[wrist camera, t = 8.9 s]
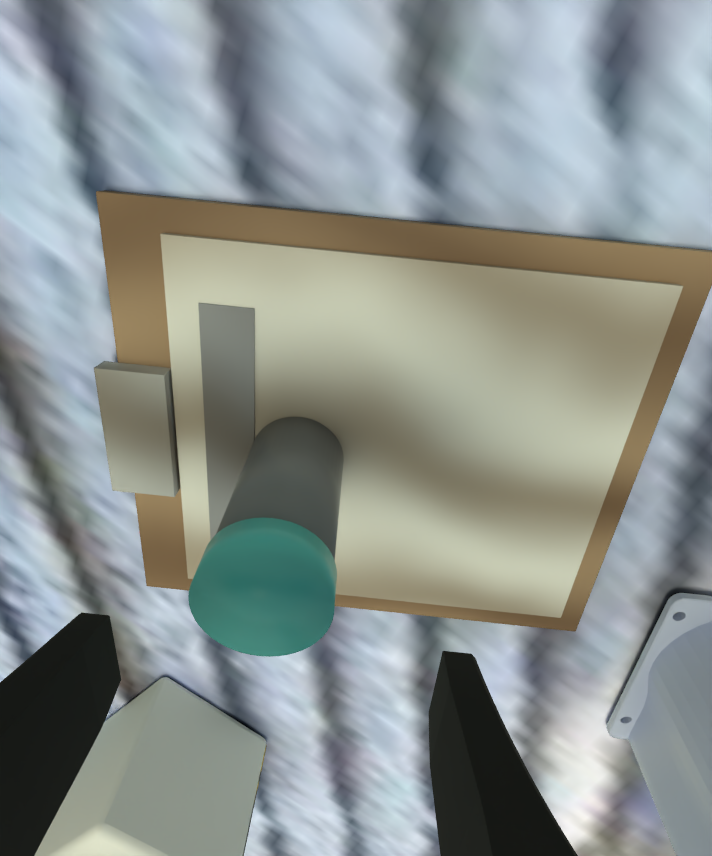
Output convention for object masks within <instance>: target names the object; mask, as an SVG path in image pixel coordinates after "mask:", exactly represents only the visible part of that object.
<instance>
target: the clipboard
mask: <svg viewBox="0 0 712 856" xmlns="http://www.w3.org/2000/svg"><path fill="white" fill-rule="evenodd" d="M96 196H97V204H98V211H99V219H100V227H101V235H102V242H103V250H104V258H105V266H106V273H107V281H108V289H109V297H110V305H111V312H112V320H113V328H114V336H115V343H116V351H117V359H118V363H117V362H107V361H103V362H102V363H101V364H99V365H98V366H96V367H95V368H94V372H95V379H96V385H97V392H98V398H99V405H100V412H101V418H102V425H103V431H104V438H105V444H106V451H107V458H108V464H109V471H110V477H111V484H112V490H113V491H122V492H131V493H135V498H136V506H137V514H138V522H139V530H140V537H141V545H142V553H143V561H144V568H145V576H146V584H147V586H152V587H161V588H171V589H180V590H189V589H190V585H191V582H192V580H193V578H194V575H195V573H196V571H197V568H198V566H199V563H200V561H201V559H202V556H203V554H204V552H205V549H206V547H207V545H208V543H209V542H210V540H211V539H212V538H213V537H214V536H215V535H216V533H217V530H218V528H219V525H220V523H221V520H222V518H223V516H224V513H225V511H226V508H227V506H228V503H229V501H230V499H231V496H232V494H233V491H234V489H235V486H236V484H237V482H238V479H239V477H240V474H241V472H242V469H243V467H244V465H245V462H246V460H247V457H248V455H249V452H250V450H251V448H252V445H253V443H254V440H255V438H256V436H257V435H258V433H259V432H260V431H261V430H262V429H263V428H264V427H265V426H266V425H268V424H269V423H271V422H273V421H275V420H278V419H281V418H286V417H304V418H308V419H312V420H314V421H317V422H319V423H321V424H322V425H324V426H325V427H327V428H328V429H329V430H330V431H331V432H332V433H333V434H334V435H335V436H336V437H337V439H338V441H339V442H340V445H341V447H342V451H343V457H344V460H343V473H342V484H341V495H340V506H339V518H338V529H337V540H336V551H335V564H336V569H337V582H336V594H335V606H340V607H350V608H359V609H369V610H378V611H388V612H397V613H406V614H416V615H425V616H435V617H444V618H454V619H463V620H472V621H482V622H491V623H501V624H510V625H520V626H529V627H539V628H548V629H557V630H567V631H576V629H577V626H578V624H579V621H580V619H581V616H582V613H583V611H584V608H585V606H586V603H587V601H588V598H589V596H590V593H591V591H592V588H593V586H594V583H595V580H596V578H597V575H598V573H599V570H600V568H601V565H602V563H603V560H604V558H605V555H606V552H607V550H608V547H609V545H610V542H611V540H612V537H613V535H614V532H615V530H616V527H617V525H618V522H619V519H620V517H621V514H622V512H623V509H624V507H625V504H626V502H627V499H628V497H629V494H630V492H631V489H632V486H633V484H634V481H635V479H636V476H637V474H638V471H639V469H640V466H641V464H642V461H643V459H644V456H645V453H646V451H647V448H648V446H649V443H650V441H651V438H652V436H653V433H654V431H655V428H656V426H657V423H658V420H659V418H660V415H661V413H662V410H663V408H664V405H665V403H666V400H667V398H668V395H669V393H670V390H671V387H672V385H673V382H674V380H675V377H676V375H677V372H678V370H679V367H680V365H681V362H682V359H683V357H684V354H685V352H686V349H687V347H688V344H689V342H690V339H691V337H692V334H693V332H694V329H695V326H696V324H697V321H698V319H699V316H700V314H701V311H702V309H703V306H704V304H705V301H706V299H707V296H708V293H709V291H710V288H711V286H712V250H702V249H692V248H682V247H671V246H661V245H651V244H641V243H631V242H621V241H611V240H601V239H591V238H581V237H570V236H560V235H550V234H540V233H530V232H520V231H510V230H500V229H490V228H479V227H469V226H459V225H449V224H439V223H429V222H419V221H409V220H399V219H389V218H378V217H368V216H358V215H348V214H338V213H328V212H318V211H308V210H298V209H287V208H277V207H267V206H257V205H247V204H237V203H227V202H217V201H207V200H197V199H186V198H176V197H166V196H156V195H146V194H136V193H126V192H116V191H106V190H105V191H96Z"/></svg>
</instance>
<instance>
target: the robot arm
mask: <svg viewBox="0 0 712 856" xmlns="http://www.w3.org/2000/svg"><path fill="white" fill-rule="evenodd" d="M677 612H678V613H677ZM675 613H676V614H675ZM120 681H121V676H120V671H119V665H118V660H117V655H116V649H115V644H114V638H113V633H112V627H111V622H110V616H108V615H99V614H89V613H81V614H79V615H78V616H77V617H75V618H74V619H73V620H72V621H71V622H70V623H68V624H67V625H66V626H65V627H64V628H63V629H62V630H60V631H59V632H58V633H57V634H56V635H55V636H54V637H52V638H51V639H50V640H49V641H48V642H47V643H46V644H44V645H43V646H42V647H41V648H40V649H39V650H38V651H36V652H35V653H34V654H33V655H32V656H31V657H30V658H28V659H27V660H26V661H25V662H24V663H23V664H21V665H20V666H19V667H18V668H17V669H16V670H14V671H13V672H12V673H11V674H10V675H9V676H7V677H6V678H5V679H4V680H3V681H1V682H0V856H35V854H36V852H37V850H38V848H39V846H40V844H41V842H42V840H43V838H44V836H45V834H46V833H47V831H48V829H49V827H50V825H51V823H52V821H53V819H54V818H55V816H56V814H57V812H58V810H59V808H60V806H61V804H62V803H63V801H64V799H65V797H66V795H67V793H68V791H69V789H70V788H71V786H72V784H73V782H74V780H75V778H76V776H77V774H78V773H79V771H80V769H81V767H82V765H83V763H84V761H85V759H86V757H87V756H88V754H89V752H90V750H91V748H92V746H93V744H94V742H95V740H96V738H97V736H98V734H99V732H100V731H101V728H102V726H103V724H104V721H105V719H106V716H107V714H108V711H109V709H110V707H111V704H112V701H113V699H114V696H115V694H116V691H117V688H118V686H119V683H120ZM606 728H607V730H608V733H609V735H610V736H612V737H613V738H619V739H628V740H629V742H630V745H631V747H632V750H633V752H634V754H635V757H636V759H637V762H638V764H639V767H640V769H641V771H642V774H643V776H644V779H645V781H646V784H647V786H648V788H649V791H650V793H651V796H652V798H653V800H654V803H655V805H656V808H657V810H658V813H659V815H660V817H661V820H662V822H663V825H664V827H665V829H666V832H667V834H668V837H669V839H670V842H671V844H672V846H673V849H674V851H675V854H676V856H712V596H708V595H698V594H689V593H677V594H674V595H673V596H671V597H670V598H669V599H668V601H667V603H666V605H665V607H664V609H663V611H662V613H661V615H660V617H659V619H658V621H657V623H656V625H655V627H654V629H653V632H652V634H651V636H650V638H649V640H648V642H647V644H646V646H645V648H644V650H643V652H642V654H641V656H640V658H639V660H638V662H637V664H636V666H635V668H634V670H633V672H632V674H631V676H630V679H629V681H628V683H627V685H626V687H625V689H624V691H623V693H622V695H621V697H620V699H619V701H618V703H617V705H616V707H615V709H614V711H613V713H612V715H611V717H610V719H609V721H608V724H607V727H606ZM429 747H430V769H431V778H432V787H433V795H434V804H435V812H436V821H437V829H438V837H439V845H440V854H441V856H578V855H577V854H576V852H575V851H574V849H573V848H572V846H571V844H570V843H569V841H568V840H567V838H566V836H565V835H564V833H563V831H562V830H561V828H560V826H559V825H558V823H557V821H556V820H555V818H554V816H553V815H552V813H551V811H550V809H549V808H548V806H547V804H546V803H545V801H544V799H543V797H542V796H541V794H540V792H539V790H538V789H537V787H536V785H535V783H534V781H533V779H532V778H531V776H530V774H529V772H528V770H527V768H526V766H525V765H524V763H523V761H522V759H521V757H520V755H519V753H518V751H517V749H516V747H515V745H514V743H513V741H512V739H511V737H510V735H509V733H508V731H507V729H506V727H505V725H504V723H503V721H502V719H501V717H500V715H499V712H498V710H497V708H496V706H495V704H494V702H493V699H492V697H491V695H490V693H489V690H488V688H487V686H486V683H485V681H484V679H483V676H482V674H481V671H480V669H479V666H478V664H477V661H476V659H475V657H474V656H473V655H472V654H467V653H458V652H448V651H443V653H442V657H441V661H440V666H439V670H438V674H437V679H436V683H435V687H434V692H433V696H432V701H431V705H430V709H429Z"/></svg>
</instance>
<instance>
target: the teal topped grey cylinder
mask: <svg viewBox="0 0 712 856" xmlns="http://www.w3.org/2000/svg"><path fill="white" fill-rule="evenodd" d="M343 460H344V457H343V451H342V447H341V445H340V442H339V441H338V439H337V437H336V436H335V435H334V434H333V433H332V432H331V431H330V430H329V429H328V428H327V427H325V426H324V425H322V424H321V423H319V422H317V421H314V420H312V419H308V418H304V417H286V418H281V419H278V420H275V421H273V422H271V423H269V424H268V425H266V426H265V427H264V428H263V429H262V430H261V431H260V432H259V433H258V435H257V436H256V438H255V440H254V443H253V445H252V448H251V450H250V452H249V455H248V457H247V460H246V462H245V465H244V467H243V469H242V472H241V474H240V477H239V479H238V482H237V484H236V486H235V489H234V491H233V494H232V496H231V499H230V501H229V503H228V506H227V508H226V511H225V513H224V516H223V518H222V520H221V523H220V525H219V528H218V530H217V533H216V535H215V536H214V537H213V538H212V539H211V540H210V542H209V543H208V545H207V547H206V549H205V552H204V554H203V556H202V559H201V561H200V563H199V566H198V568H197V571H196V573H195V575H194V578H193V580H192V582H191V585H190V589H189V606H190V609H191V612H192V614H193V616H194V618H195V620H196V622H197V623H198V625H199V626H200V627H201V628H202V629H203V630H204V632H206V633H207V634H208V635H209V636H210V637H211V638H213V639H214V640H216V641H217V642H219V643H220V644H222V645H224V646H226V647H228V648H231V649H233V650H236V651H239V652H242V653H246V654H250V655H257V656H282V655H288V654H292V653H296V652H298V651H301V650H304V649H306V648H308V647H310V646H311V645H313V644H314V643H316V642H317V641H318V640H319V639H321V638H322V637H323V635H324V634H325V633H326V632H327V630H328V629H329V627H330V625H331V623H332V620H333V615H334V607H335V594H336V582H337V569H336V564H335V551H336V540H337V529H338V518H339V506H340V495H341V484H342V473H343Z"/></svg>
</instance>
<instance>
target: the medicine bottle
mask: <svg viewBox="0 0 712 856" xmlns="http://www.w3.org/2000/svg"><path fill="white" fill-rule="evenodd" d="M265 750H266V740H265V739H264V738H263V737H262V736H260V735H258V734H257V733H255V732H254V731H252V730H250V729H249V728H247V727H246V726H244V725H242V724H241V723H239V722H238V721H236V720H235V719H233V718H231V717H230V716H228V715H227V714H225V713H223V712H222V711H220V710H219V709H217V708H216V707H214V706H212V705H211V704H209V703H208V702H206V701H204V700H203V699H201V698H200V697H198V696H196V695H195V694H193V693H192V692H190V691H189V690H187V689H185V688H184V687H182V686H181V685H179V684H177V683H176V682H174V681H173V680H171V679H170V678H167V677H164V678H161V679H159V680H158V681H157V682H156V683H154V684H153V685H152V686H150V687H149V688H148V689H147V690H145V691H144V692H143V693H141V694H140V695H139V696H137V697H136V698H135V699H134V700H132V701H131V702H130V703H128V704H127V705H126V706H124V707H123V708H122V709H121V710H119V711H118V712H117V713H115V714H114V715H113V716H111V717H110V718H109V719H108V720H106V721H105V722H104V724H103V726H102V728H101V731H100V732H99V734H98V736H97V738H96V740H95V742H94V744H93V746H92V748H91V750H90V752H89V754H88V756H87V757H86V759H85V761H84V763H83V765H82V767H81V769H80V771H79V773H78V774H77V776H76V778H75V780H74V782H73V784H72V786H71V788H70V789H69V791H68V793H67V795H66V797H65V799H64V801H63V803H62V804H61V806H60V808H59V810H58V812H57V814H56V816H55V818H54V819H53V821H52V823H51V825H50V827H49V829H48V831H47V833H46V834H45V836H44V838H43V840H42V842H41V844H40V846H39V848H38V850H37V852H36V854H35V856H244V851H245V846H246V842H247V837H248V832H249V827H250V822H251V818H252V813H253V808H254V803H255V798H256V794H257V789H258V784H259V779H260V774H261V770H262V765H263V760H264V755H265Z"/></svg>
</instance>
